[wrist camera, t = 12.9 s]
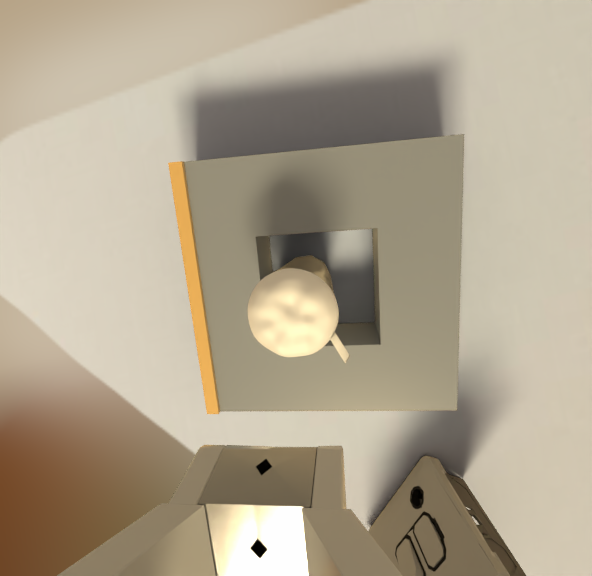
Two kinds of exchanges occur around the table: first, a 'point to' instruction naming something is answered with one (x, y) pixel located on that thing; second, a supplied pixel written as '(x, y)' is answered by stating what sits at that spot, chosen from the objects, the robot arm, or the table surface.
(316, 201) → the socket block
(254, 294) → the milkshake
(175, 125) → the table surface
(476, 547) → the electrical switch
